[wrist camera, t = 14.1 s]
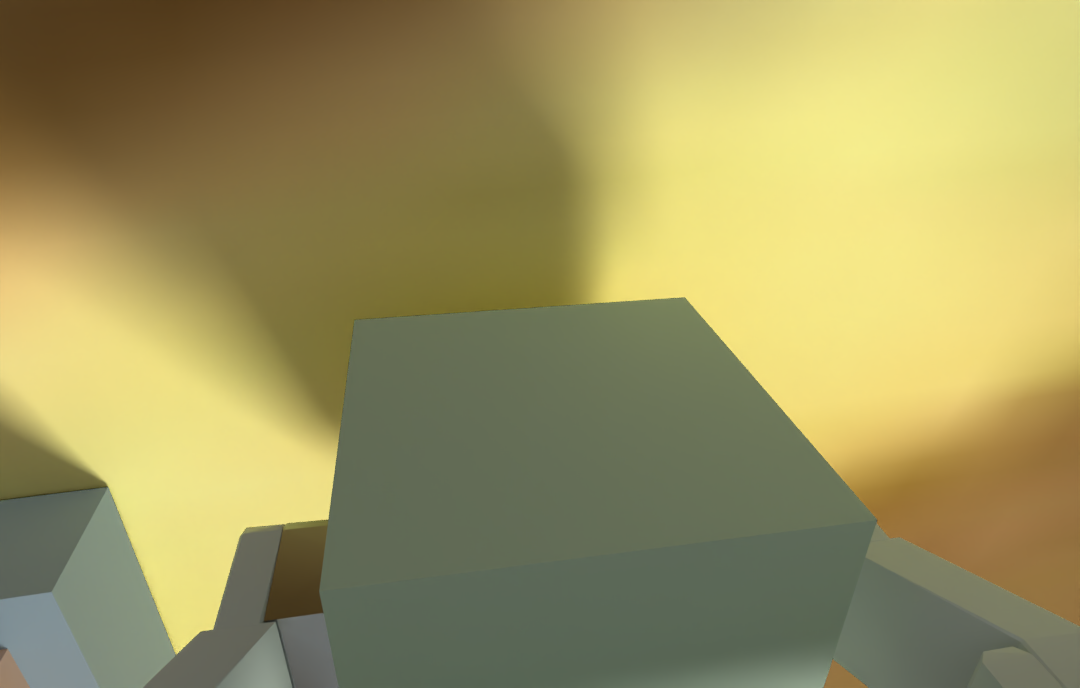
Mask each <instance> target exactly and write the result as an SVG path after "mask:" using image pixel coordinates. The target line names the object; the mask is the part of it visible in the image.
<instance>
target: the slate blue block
mask: <svg viewBox="0 0 1080 688" xmlns="http://www.w3.org/2000/svg"><path fill="white" fill-rule="evenodd" d="M2 649H8V650H9V652H10V654H11V655H12V657H13V659H14V661H15V662H16V664H17V666H18V668H19V669H20V671H21V673H22V675H23V676H24V678H25V680H26V681H27V683H28V685H29V687H30V688H143V687H144V686H145V685H146V684H147V683H148V682H149V681H150V680H151V679H152V678H153V677H154V676H155V675H156V674H157V673H158V672H159V671H160V670H161V669H162V668H163V667H164V666H165V665H166V664H168V663H169V662H170V661H171V660H172V659H173V658H174V657H175V656H176V654H175V652H174V649H173V647H172V644H171V642H170V639H169V637H168V635H167V632H166V630H165V627H164V625H163V622H162V620H161V617H160V615H159V612H158V610H157V607H156V605H155V602H154V600H153V597H152V595H151V592H150V590H149V587H148V585H147V582H146V580H145V577H144V575H143V572H142V570H141V567H140V565H139V562H138V560H137V557H136V555H135V552H134V550H133V548H132V545H131V543H130V540H129V538H128V535H127V533H126V530H125V528H124V525H123V523H122V520H121V518H120V515H119V513H118V510H117V508H116V505H115V503H114V500H113V498H112V495H111V493H110V490H109V488H108V487H104V488H96V489H88V490H80V491H72V492H65V493H57V494H49V495H41V496H33V497H25V498H17V499H9V500H1V501H0V650H2Z"/></svg>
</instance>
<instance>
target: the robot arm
mask: <svg viewBox="0 0 1080 688" xmlns="http://www.w3.org/2000/svg"><path fill="white" fill-rule="evenodd" d="M327 527H328V520H318V521H307V522H296V523H287V524H286V525H271V526H260V527H249V528H246V529H245V531H244V532H243V533H242V535H241V536H240V538H239V542H238V545H237V549H236V552H235V556H234V559H233V563H232V566H231V570H230V573H229V577H228V580H227V583H226V587H225V590H224V594H223V597H222V601H221V604H220V608H219V611H218V615H217V618H216V622H215V625H214V629H213V630H208V631H202V632H200V633H199V634H198V635H197V636H195V637H194V638H193V639H192V640H191V641H190V642H189V643H188V644H187V645H186V646H185V647H184V648H183V649H182V650H181V651H180V652H179V653H178V654H177V655H176V656H175V657H174V658H173V659H172V660H171V661H170V662H169V663H168V664H166V665H165V666H164V667H163V668H162V669H161V670H160V671H159V672H158V673H157V674H156V675H155V676H154V677H153V678H152V679H151V680H150V681H149V682H148V683H147V684H146V685H145V686H144V687H143V688H339V687H338V682H337V677H336V672H335V667H334V662H333V657H332V652H331V647H330V642H329V637H328V632H327V627H326V623H325V618H324V613H323V608H322V603H321V598H320V593H319V589H320V581H321V574H322V566H323V558H324V550H325V543H326V535H327ZM833 659H834V660H835V661H836V662H837V663H839V664H840V665H841V666H842V667H844V668H845V669H846V670H847V671H849V672H850V673H851V674H852V675H854V676H855V677H856V678H858V679H859V680H860V681H861V682H863V683H864V684H865V685H866V686H868V687H869V688H1080V626H1078V625H1076V624H1074V623H1072V622H1069V621H1067V620H1065V619H1063V618H1061V617H1059V616H1057V615H1055V614H1053V613H1051V612H1049V611H1047V610H1045V609H1043V608H1041V607H1039V606H1037V605H1035V604H1033V603H1031V602H1029V601H1027V600H1025V599H1023V598H1021V597H1019V596H1017V595H1015V594H1013V593H1011V592H1009V591H1007V590H1005V589H1003V588H1001V587H999V586H997V585H995V584H993V583H991V582H989V581H987V580H985V579H983V578H981V577H979V576H977V575H975V574H972V573H970V572H968V571H966V570H964V569H962V568H960V567H958V566H956V565H954V564H952V563H950V562H948V561H946V560H944V559H942V558H940V557H938V556H936V555H934V554H932V553H930V552H928V551H926V550H924V549H922V548H920V547H918V546H916V545H914V544H912V543H910V542H908V541H906V540H904V539H902V538H900V537H899V538H891V539H890V538H889V537H888V536H887V535H886V534H885V533H884V531H883V530H882V529H881V528H880V527H879V526H878V525H877V523H876V525H875V529H874V532H873V535H872V538H871V541H870V544H869V547H868V550H867V553H866V557H865V560H864V563H863V566H862V569H861V572H860V575H859V578H858V581H857V585H856V588H855V591H854V594H853V597H852V600H851V603H850V606H849V609H848V613H847V616H846V619H845V622H844V625H843V628H842V631H841V634H840V638H839V641H838V644H837V647H836V650H835V653H834V656H833Z"/></svg>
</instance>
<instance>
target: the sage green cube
mask: <svg viewBox="0 0 1080 688" xmlns="http://www.w3.org/2000/svg"><path fill="white" fill-rule="evenodd" d="M876 522H877V519H876V518H875V517H874V516H873V514H872V513H871V512H870V511H869V510H868V509H867V508H866V506H865V505H864V504H863V503H862V502H861V501H860V499H859V498H858V497H857V496H856V495H855V494H854V492H853V491H852V490H851V489H850V488H849V487H848V486H847V484H846V483H845V482H844V481H843V480H842V479H841V477H840V476H839V475H838V474H837V473H836V472H835V471H834V469H833V468H832V467H831V466H830V465H829V464H828V462H827V461H826V460H825V459H824V458H823V457H822V455H821V454H820V453H819V452H818V451H817V450H816V449H815V447H814V446H813V445H812V444H811V443H810V442H809V440H808V439H807V438H806V437H805V436H804V435H803V434H802V432H801V431H800V430H799V429H798V428H797V427H796V425H795V424H794V423H793V422H792V421H791V420H790V418H789V417H788V416H787V415H786V414H785V413H784V412H783V410H782V409H781V408H780V407H779V406H778V405H777V403H776V402H775V401H774V400H773V399H772V398H771V397H770V395H769V394H768V393H767V392H766V391H765V390H764V388H763V387H762V386H761V385H760V384H759V383H758V381H757V380H756V379H755V378H754V377H753V376H752V375H751V373H750V372H749V371H748V370H747V369H746V368H745V366H744V365H743V364H742V363H741V362H740V361H739V360H738V358H737V357H736V356H735V355H734V354H733V353H732V351H731V350H730V349H729V348H728V347H727V346H726V344H725V343H724V342H723V341H722V340H721V339H720V338H719V336H718V335H717V334H716V333H715V332H714V331H713V329H712V328H711V327H710V326H709V325H708V324H707V323H706V321H705V320H704V319H703V318H702V317H701V316H700V314H699V313H698V312H697V311H696V310H695V309H694V307H693V306H692V305H691V304H690V303H689V302H688V301H687V299H686V298H685V297H683V298H669V299H654V300H639V301H625V302H610V303H595V304H580V305H566V306H551V307H536V308H522V309H507V310H492V311H478V312H463V313H448V314H434V315H419V316H404V317H390V318H375V319H360V320H354V328H353V335H352V343H351V351H350V358H349V366H348V374H347V381H346V389H345V397H344V404H343V412H342V420H341V428H340V435H339V443H338V451H337V458H336V466H335V474H334V481H333V489H332V497H331V504H330V512H329V520H328V527H327V535H326V543H325V550H324V558H323V566H322V574H321V581H320V589H319V593H320V598H321V603H322V608H323V613H324V618H325V623H326V627H327V632H328V637H329V642H330V647H331V652H332V657H333V662H334V667H335V672H336V677H337V682H338V687H339V688H823V687H824V684H825V681H826V678H827V675H828V672H829V669H830V666H831V662H832V659H833V656H834V653H835V650H836V647H837V644H838V641H839V638H840V634H841V631H842V628H843V625H844V622H845V619H846V616H847V613H848V609H849V606H850V603H851V600H852V597H853V594H854V591H855V588H856V585H857V581H858V578H859V575H860V572H861V569H862V566H863V563H864V560H865V557H866V553H867V550H868V547H869V544H870V541H871V538H872V535H873V532H874V529H875V525H876Z"/></svg>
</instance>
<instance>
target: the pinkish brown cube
mask: <svg viewBox="0 0 1080 688" xmlns="http://www.w3.org/2000/svg"><path fill="white" fill-rule="evenodd" d="M0 688H30V687H29V685H28V683H27V681H26V680H25V678H24V676H23V675H22V673H21V671H20V669H19V668H18V666H17V664H16V662H15V661H14V659H13V657H12V655H11V654H10V652H9V650H8V649H2V650H0Z"/></svg>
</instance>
